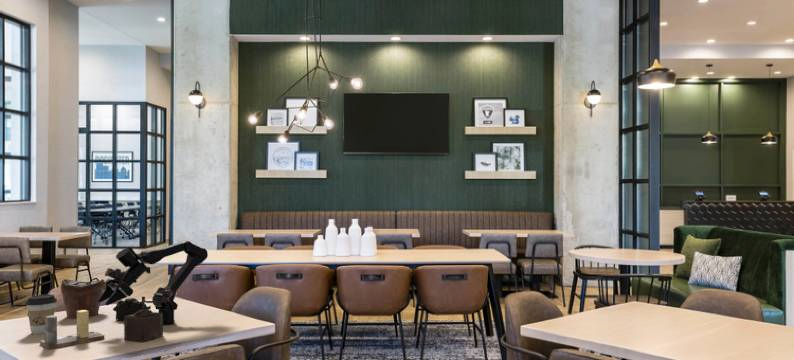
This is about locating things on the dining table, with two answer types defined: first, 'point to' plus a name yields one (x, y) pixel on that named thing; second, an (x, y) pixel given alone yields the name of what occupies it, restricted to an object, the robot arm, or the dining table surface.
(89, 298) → the brown wicker basket
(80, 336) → the leg
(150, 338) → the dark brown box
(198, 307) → the dining table surface
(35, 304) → the coffee cup
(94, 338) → the gauge board
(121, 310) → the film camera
